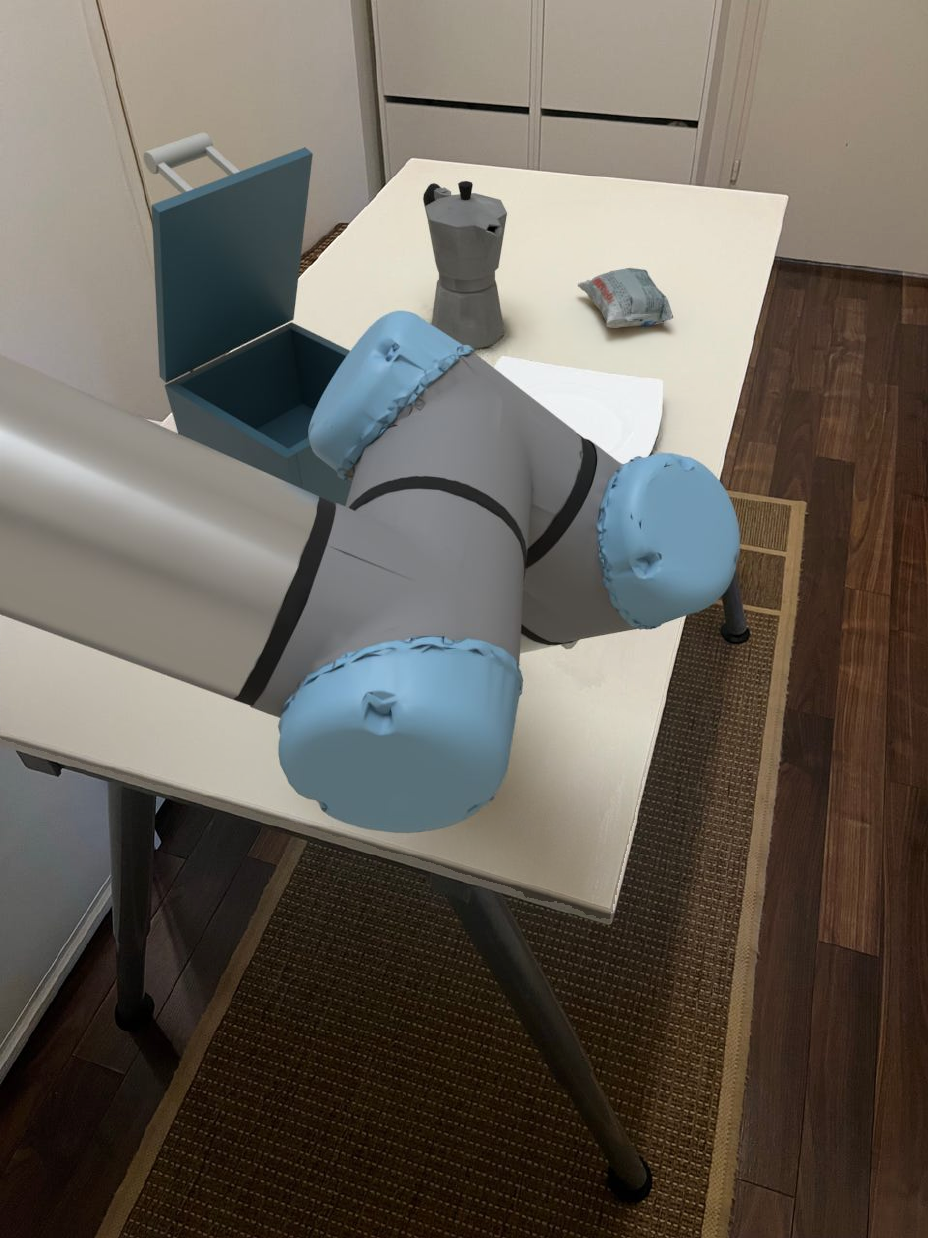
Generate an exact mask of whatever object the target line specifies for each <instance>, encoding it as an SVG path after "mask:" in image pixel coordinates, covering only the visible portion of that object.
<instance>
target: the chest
mask: <svg viewBox="0 0 928 1238" xmlns="http://www.w3.org/2000/svg"><path fill="white" fill-rule="evenodd" d="M350 351H351V349H350V350H349V349H348V348H346V347H344V346H341V345H340V344H337V343H336V342H333V341H331V340H330V339H327V338H325V337H323V336H321V335H320V334H317V333H315V332H313V331H311V330H309V329H307V328H305V327H302V326H300V325H298V324H297V323H294V322H293V321H290V322H288V323H286V324H284V325H282V326H280V327H278V328H276V329H274V330H272V331H270V332H268V333H266V334H264V335H262V336H260V337H258V338H256V339H254V340H252V341H250V342H248V343H246V344H244V345H242V346H240V347H238V348H236V349H234V350H232V351H230V352H228V353H226V354H224V355H222V356H220V357H218V358H216V359H214V360H212V361H210V362H207V363H205V364H203V365H201V366H199V367H197V368H195V369H193V370H191V371H189V372H187V373H185V374H183V375H181V376H179V377H177V378H175V379H173V380H171V381H169V382H167V383H166V384H164V389H165V392H166V396H167V399H168V403H169V407H170V410H171V414H172V417H173V420H174V421H173V422H174V424H175V427H176V431H177V433H178V434H180V435H182V436H185V437H187V438H189V439H191V440H194V441H196V442H198V443H200V444H203V445H205V446H207V447H209V448H212V449H214V450H216V451H218V452H220V453H223V454H225V455H227V456H229V457H232V458H234V459H236V460H238V461H241V462H243V463H245V464H247V465H250V466H252V467H254V468H256V469H259V470H261V471H263V472H265V473H268V474H270V475H272V476H274V477H276V478H279V479H281V480H283V481H285V482H288V483H290V484H292V485H294V486H297V487H299V488H301V489H303V490H306V491H308V492H310V493H312V494H315V495H317V496H319V497H321V498H324V499H326V500H328V501H330V502H333V503H338V504H340V505H343V506H346V502H347V499H348V495H349V492H350V488H351V485H352V481H350V480H343V479H341V478H340V477H338V474H337V472H336V471H335V470H334V469H333V468H332V467H330V466H329V465H328V464H326V463H325V462H324V461H323V460H321V459H320V458H319V457H318V456H316V455H315V453H314V452H313V450H312V448H311V445H310V440H309V434H308V429H309V425H310V422H311V419H312V416H313V414H314V411H315V409H316V407H317V405H318V403H319V401H320V399H321V397H322V395H323V393H324V391H325V390H326V388H327V386H328V384H329V383H330V381H331V379H332V378H333V376H334V375H335V373H336V371H337V370H338V368H339V367H340V365H341V364H342V362H343V361H344V359H345V358H346V356H347V355H348V354H349V352H350Z"/></svg>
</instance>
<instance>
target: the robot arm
mask: <svg viewBox="0 0 928 1238" xmlns="http://www.w3.org/2000/svg"><path fill="white" fill-rule="evenodd" d="M431 324H432V323H431V322H428V321H427V320H426V319H424V318H422V317H421V316H420V315H418V314H416V313H414V312H412V311H407V310H395V311H390V312H389V313H386V314H385V315H383V316H381V317H380V318H379V319H377V320H376V321H375V322H374V323H372V324H371V325H370V326H369V327H368V329H367V330H366V331H365V332H364V333H363V334H362V335H361V336H360V338H359V339H358V340H357V342H356V343H355V344H354V345H353V347H352V348H351V349H350V352H349V354H348V355H347V356H346V358H345V359H344V361H343V362H342V364H341V365H340V367H339V368H338V370H337V371H336V373H335V375H334V376H333V378H332V379H331V381H330V383H329V384H328V386H327V388H326V390H325V391H324V393H323V395H322V397H321V399H320V401H319V403H318V405H317V407H316V409H315V411H314V414H313V416H312V419H311V422H310V425H309V429H308V434H309V440H310V445H311V448H312V450H313V452H314V453H315V455H316V456H318V457H319V458H320V459H321V460H323V461H324V462H325V463H326V464H328V465H329V466H330V467H332V468H333V469H334V470H335V471H336V472H337V474H338V477H340V478H341V479H343V480H350V481H352V485H351V488H350V492H349V495H348V499H347V502H346V506H343V505H340V504H338V503H333V502H330V501H328V500H326V499H324V498H321V497H319V496H317V495H315V494H312V493H310V492H308V491H306V490H303V489H301V488H299V487H297V486H294V485H292V484H290V483H288V482H285V481H283V480H281V479H279V478H276V477H274V476H272V475H270V474H268V473H265V472H263V471H261V470H259V469H256V468H254V467H252V466H250V465H247V464H245V463H243V462H241V461H238V460H236V459H234V458H232V457H229V456H227V455H225V454H223V453H220V452H218V451H216V450H214V449H212V448H209V447H207V446H205V445H203V444H200V443H198V442H196V441H194V440H191V439H189V438H187V437H185V436H182V435H180V434H178V432H176V431H173V430H171V429H170V428H167V427H164V426H162V425H160V424H158V423H156V422H153V421H151V420H149V419H147V418H144V417H142V416H140V415H139V414H138V415H137V414H135V413H132V412H131V411H128V410H126V409H124V408H122V407H119V406H117V405H116V404H113V403H111V402H108V401H106V400H104V399H102V398H99V397H97V396H96V395H93V394H90V393H88V392H86V391H84V390H81V389H80V388H78V387H75V386H73V385H70V384H68V383H66V382H63V381H62V380H59V379H57V378H55V377H53V376H51V375H48V374H45V373H44V372H41V371H40V370H36V369H34V368H32V367H30V366H28V365H27V364H23V363H22V362H19V361H17V360H14V359H12V358H10V357H8V356H5V355H3V354H1V353H0V615H1V616H4V617H5V618H8V619H11V620H14V621H16V622H19V623H22V624H25V625H28V626H30V627H33V628H36V629H39V630H42V631H44V632H47V633H50V634H52V635H54V636H58V637H60V638H64V639H66V640H69V641H71V642H74V643H77V644H80V645H82V646H85V647H87V648H90V649H93V650H96V651H98V652H101V653H104V654H107V655H109V656H111V657H115V658H118V659H121V660H124V661H126V662H129V663H132V664H134V665H137V666H140V667H142V668H144V669H148V670H151V671H154V672H156V673H159V674H161V675H164V676H167V677H168V678H171V679H175V680H178V681H180V682H182V683H186V684H189V685H192V686H194V687H197V688H199V689H202V690H206V691H208V692H211V693H213V694H216V695H219V696H222V697H224V698H227V699H230V700H232V701H235V702H238V703H241V704H243V705H247V706H249V707H250V708H252V709H254V710H257V711H260V712H263V713H265V714H267V715H270V716H274V717H277V718H279V720H278V725H277V728H278V731H279V738H278V747H277V748H278V753H277V754H278V761H279V765H280V767H281V770H282V771H283V774H284V776H285V777H286V780H287V782H288V784H289V785H290V786H291V788H292V789H293V790H294V791H295V792H296V794H297V795H299V796H301V797H303V798H305V799H307V800H312V801H316V803H318V805H319V807H320V810H321V812H323V813H324V814H326V815H327V816H328V817H330V818H332V819H335V820H337V821H339V822H341V823H344V824H347V825H350V826H354V827H357V828H361V829H364V830H365V829H366V830H370V831H377V832H385V833H392V834H393V833H394V834H395V833H396V834H413V833H414V834H415V833H424V832H431V831H435V830H440V829H445V828H448V827H450V826H453V825H456V824H459V823H461V822H463V821H466V820H468V819H469V818H470V817H472V816H474V815H475V814H476V813H478V812H479V811H481V810H482V808H483V807H485V806H487V805H488V804H489V802H490V801H493V800H494V799H495V796H496V795H497V793H498V791H499V790H500V788H501V787H502V784H503V782H504V780H505V778H506V775H507V772H508V769H509V764H510V763H509V762H510V757H511V751H512V744H513V738H514V732H515V726H516V721H517V714H518V707H519V701H520V697H521V696H522V694H523V690H524V689H523V687H524V677H523V674H522V671H521V668H520V662H521V661H520V659H521V654H525V653H530V652H534V651H539V650H544V649H547V648H552V647H557V646H561V647H562V648H564V649H565V650H572V649H573V648H574V647H575V646H576V645H577V643H578V642H579V641H580V640H585V639H590V638H596V637H600V636H607V635H610V634H611V635H612V634H617V633H622V632H627V631H629V632H630V631H634V630H653V629H657V628H660V627H661V626H662V625H664V624H666V623H668V622H672V621H675V620H677V619H680V618H684V617H686V616H689V615H692V614H695V613H699V612H701V611H704V610H706V609H707V608H709V607H710V606H712V605H714V604H715V603H717V601H719V599H720V598H721V597H722V596H723V595H724V594H725V593H726V592H727V590H728V589H729V587H730V586H731V583H732V581H733V578H734V576H735V573H736V571H737V564H738V560H739V557H740V555H741V551H740V550H741V534H740V533H741V532H740V527H739V522H738V516H737V514H736V509H735V507H734V504H733V502H732V500H731V498H730V495H729V494H728V492H727V489H725V487H724V484H722V483H721V481H720V479H719V478H718V477H717V476H716V475H715V474H714V473H713V472H712V471H711V470H710V469H709V468H708V467H707V466H706V465H704V464H703V463H701V462H700V461H699V460H697V459H694V458H693V457H691V456H686V455H685V456H684V455H681V454H678V453H673V452H658V453H654V454H651V455H650V456H648V457H645V458H642V457H640V456H638V457H635V458H634V459H631V460H630V461H629V462H627V463H625V464H621V463H620V462H618V461H617V460H615V459H614V458H613V457H612V456H610V455H609V454H608V453H606V452H605V451H604V450H603V449H601V448H600V447H599V446H597V445H596V444H595V443H593V442H592V441H590V440H588V439H584V438H583V437H582V436H581V435H579V434H578V433H576V432H575V431H574V430H573V429H572V428H570V427H569V426H568V425H567V424H565V423H564V422H563V421H561V420H560V419H559V418H558V417H556V416H555V415H554V414H552V413H551V412H550V411H549V410H547V409H546V408H545V407H543V406H542V405H541V404H540V403H538V402H537V401H536V400H534V399H533V398H532V397H531V396H529V395H528V394H527V393H525V392H524V391H523V390H522V389H520V388H519V387H518V386H516V385H515V384H514V383H513V382H511V381H510V380H509V379H507V378H506V377H505V376H504V375H502V374H501V373H500V372H498V371H497V370H496V369H495V368H493V367H494V366H492V365H491V364H489V362H487V361H486V360H484V359H483V358H482V357H481V356H480V355H478V354H477V353H475V352H476V350H474V349H473V348H472V347H470V346H469V345H462V344H460V343H459V342H457V341H456V340H454V339H453V338H451V337H450V336H448V335H447V334H445V333H444V332H442V331H441V330H439V329H438V328H436V327H434V326H433V325H431Z"/></svg>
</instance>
